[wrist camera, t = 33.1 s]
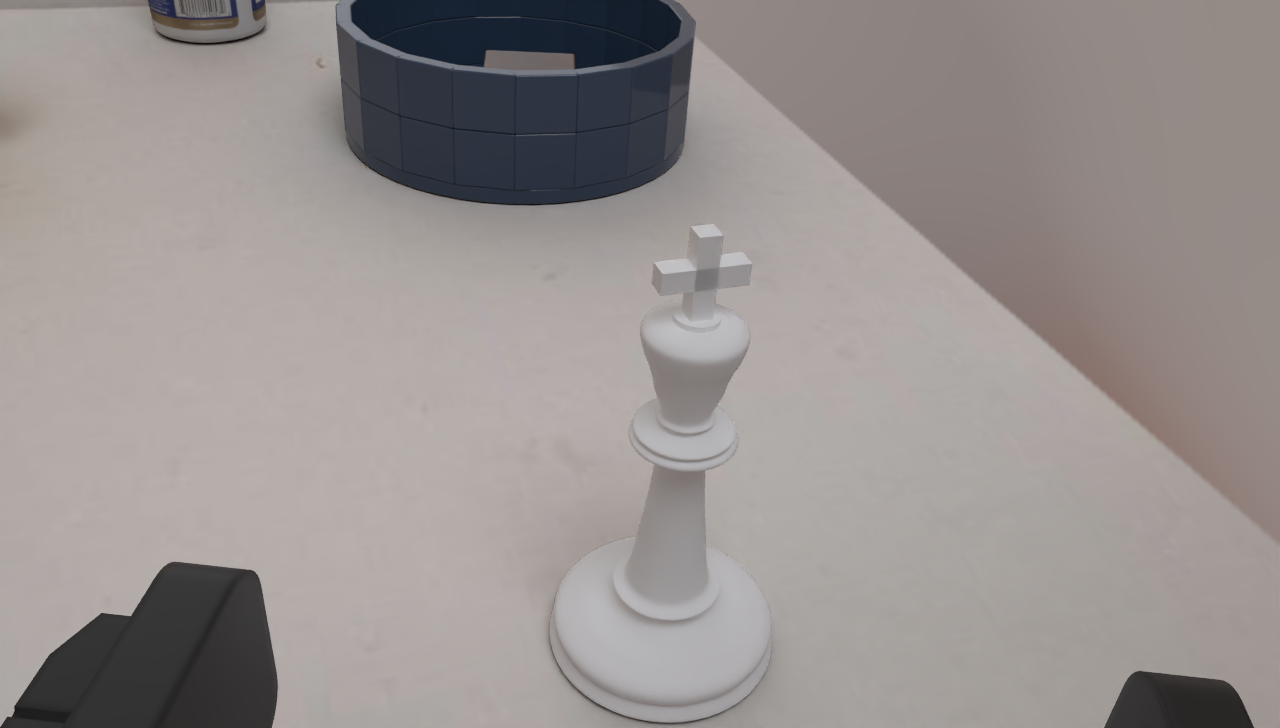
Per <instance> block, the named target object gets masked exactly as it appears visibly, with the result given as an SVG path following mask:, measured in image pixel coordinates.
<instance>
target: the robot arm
mask: <svg viewBox="0 0 1280 728" xmlns="http://www.w3.org/2000/svg"><path fill="white" fill-rule="evenodd" d="M277 691H278V682H277V672H276V667H275V661H274V656H273V650H272V644H271V639H270V633H269V627H268V622H267V616H266V611H265V605H264V599H263V594H262V588H261V584H260V580H259V577H258V575H257V574H256V573H255V572H254V571H252V570H246V569H236V568H227V567H218V566H209V565H200V564H191V563H182V562H171V563H169V564H167V565H166V566H164V567H163V568H162V569H161V570H160V572H159V573H158V574H157V576H156V577H155V579H154V580H153V582H152V583H151V585H150V587H149V588H148V590H147V591H146V593H145V595H144V596H143V598H142V599H141V601H140V603H139V604H138V606H137V608H136V609H135V611H134V612H133V614H132V616H123V615H114V614H105V613H101V614H100V615H99V616H97V617H96V618H95V619H94V620H92V621H91V622H90V623H89V624H87V625H86V626H85V627H84V628H82V629H81V630H80V631H79V632H77V633H76V634H75V635H74V636H72V637H71V638H70V639H69V640H67V641H66V642H65V643H64V644H62V645H61V646H60V647H59V648H57V649H56V650H55V651H54V652H52V653H51V654H50V655H49V656H48V658H47V659H46V661H45V662H44V664H43V665H42V666H41V668H40V669H39V671H38V672H37V674H36V675H35V677H34V678H33V680H32V681H31V683H30V684H29V686H28V687H27V689H26V690H25V692H24V693H23V695H22V696H21V698H20V699H19V700H18V702H17V703H16V705H15V706H14V707H15V711H14V714H13V716H12V717H7V718H6V720H5V721H4V723H3V724H2V726H1V727H0V728H272V724H273V720H274V715H275V710H276V703H277ZM1104 728H1254V727H1253V725H1252V722H1251V720H1250V718H1249V716H1248V713H1247V711H1246V709H1245V707H1244V704H1243V702H1242V700H1241V698H1240V697H1239V695H1238V693H1237V692H1236V690H1235V689H1234V688H1233V687H1232V686H1231V685H1230V684H1229V683H1227V682H1225V681H1222V680H1216V679H1207V678H1198V677H1189V676H1180V675H1170V674H1161V673H1152V672H1143V671H1138V672H1135V673H1133V674H1132V675H1131V676H1130V677H1129V678H1128V679H1127V681H1126V683H1125V684H1124V687H1123V689H1122V691H1121V693H1120V695H1119V697H1118V699H1117V701H1116V704H1115V706H1114V708H1113V710H1112V712H1111V714H1110V716H1109V719H1108V721H1107V723H1106V725H1105V727H1104Z"/></svg>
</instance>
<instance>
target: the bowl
mask: <svg viewBox="0 0 1280 728" xmlns="http://www.w3.org/2000/svg"><path fill="white" fill-rule="evenodd" d="M695 26H696V22H695V20H694V19H693V18H692V16H691V15H690V14H689V13H688V12H687V11H686V9H685V8H684V7H683V6H682V5H681V4H680V3H678V2H676V1H674V0H340V1H339V2H338V3H337V4H336V27H337V39H338V51H339V62H340V74H341V86H342V97H343V109H344V121H345V130H346V135H347V140H348V143H349V145H350V147H351V149H352V150H353V152H354V153H355V154H356V156H357V157H358V158H359V159H360V160H361V161H363V162H364V163H365V164H366V165H367V166H369V167H370V168H372V169H373V170H375V171H377V172H378V173H380V174H381V175H384V176H386V177H388V178H390V179H392V180H394V181H396V182H399V183H402V184H404V185H407V186H410V187H413V188H416V189H419V190H423V191H426V192H430V193H434V194H438V195H443V196H448V197H453V198H458V199H464V200H472V201H480V202H490V203H504V204H549V203H563V202H573V201H582V200H587V199H593V198H599V197H604V196H608V195H612V194H616V193H620V192H623V191H626V190H629V189H632V188H635V187H638V186H640V185H643V184H645V183H647V182H649V181H651V180H653V179H655V178H657V177H658V176H660V175H661V174H663V173H664V172H666V171H667V170H668V169H669V168H670V167H671V166H672V165H673V164H674V163H675V162H676V161H677V159H678V158H679V156H680V155H681V152H682V149H683V146H684V137H685V128H686V120H687V109H688V99H689V89H690V78H691V68H692V57H693V47H694V37H695ZM486 50H497V51H520V52H543V53H565V54H574V55H575V65H576V69H574V70H506V69H495V68H485V67H483V64H484V57H485V52H486Z"/></svg>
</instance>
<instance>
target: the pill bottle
mask: <svg viewBox="0 0 1280 728" xmlns="http://www.w3.org/2000/svg"><path fill="white" fill-rule="evenodd" d="M148 2H149V7H150V12H151V15H152V21H153V25H154V27H155V28H156V30H157V31H158V32H160V33H161V34H163V35H165V36H167V37H169V38H173V39H176V40H182V41H188V42H196V43H214V42H224V41H230V40H236V39H241V38H244V37H247V36H250V35H253V34H255V33H257V32H259V31H260V30H261V29H262V28H263V27H264V26H265V24H266V6H265V0H148Z"/></svg>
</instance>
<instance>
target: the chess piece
mask: <svg viewBox="0 0 1280 728" xmlns="http://www.w3.org/2000/svg"><path fill="white" fill-rule="evenodd" d="M723 236H724V235H723V234H722V233H721V232H720V231H719V230H718V228H717V227H716V226H715V225H714V224H708V225H698V226H691V227H690V237H689V246H688V256H687V258H685V259H676V260H667V261H658V262H654V266H653V278H652V284H653V286H654V287H655V289H656V290H657V292H658V293H659V294H660V296H665V295H673V294H681V293H683V299H682V300H675V301H670V302H667V303H664V304H661V305H659V306H657V307H655V308H654V309H652V310H651V311H650V312H648V314H647V315H646V316H645V317H644V319H643V320H642V323H641V327H640V336H641V342H642V346H643V350H644V353H645V356H646V359H647V361H648V363H649V366H650V370H651V373H652V377H653V384H654V388H655V391H656V394H657V397H658V398H657V399H654V400H651V401H649V402H647V403H646V404H644V405H643V406H642V407H640V408H639V409H638V410H637V412H636V413H635V415H634V418H633V420H632V422H631V424H630V426H629V440H630V442H631V445H632V446H633V448H634V449H635V451H636V452H637V453H638V454H639V455H640V456H642V457H643V458H644V459H646V460H647V461H649V462H651V463H653V464H654V468H653V473H652V477H651V483H650V487H649V491H648V495H647V499H646V503H645V507H644V511H643V515H642V518H641V522H640V526H639V530H638V534H637V536H634V537H629V538H624V539H620V540H616V541H613V542H610V543H608V544H605V545H603V546H601V547H599V548H597V549H595V550H593V551H592V552H590V553H588V554H587V555H585V556H584V557H583V558H582V559H580V560H579V561H578V562H577V563H576V564H575V565H574V566H573V567H572V568H571V569H570V570H569V572H568V573H567V574H566V576H565V577H564V579H563V580H562V582H561V584H560V586H559V589H558V591H557V594H556V598H555V602H554V608H553V611H552V614H551V619H550V642H551V646H552V650H553V653H554V656H555V658H556V660H557V663H558V665H559V666H560V668H561V670H562V671H563V673H564V674H565V676H566V677H567V678H568V679H569V680H570V682H571V683H572V684H573V685H574V686H575V687H576V688H577V689H578V690H579V691H581V692H582V693H583V694H584V695H586V696H587V697H588V698H590V699H591V700H593V701H594V702H596V703H598V704H599V705H601V706H603V707H605V708H607V709H609V710H611V711H613V712H616V713H618V714H621V715H624V716H627V717H631V718H635V719H639V720H644V721H651V722H662V723H675V722H687V721H693V720H698V719H703V718H706V717H710V716H712V715H715V714H718V713H720V712H722V711H725V710H727V709H729V708H731V707H732V706H734V705H735V704H737V703H738V702H740V701H741V700H742V699H744V698H745V697H746V696H747V695H748V694H749V693H750V692H751V691H752V690H753V689H754V688H755V687H756V686H757V685H758V683H759V682H760V680H761V679H762V677H763V675H764V673H765V672H766V669H767V667H768V664H769V661H770V657H771V651H772V636H771V630H772V621H771V613H770V609H769V605H768V602H767V600H766V597H765V595H764V593H763V591H762V589H761V588H760V586H759V585H758V583H757V582H756V581H755V579H754V578H753V577H752V576H751V575H750V573H749V572H748V571H747V570H746V569H745V568H744V567H742V566H741V565H740V564H739V563H738V562H736V561H735V560H734V559H732V558H731V557H729V556H728V555H726V554H724V553H723V552H721V551H719V550H717V549H715V548H713V547H711V546H708V545H706V535H705V470H709V469H713V468H715V467H718V466H720V465H722V464H724V463H725V462H727V461H728V460H729V459H730V458H731V457H732V456H733V455H734V453H735V452H736V450H737V447H738V434H737V431H736V425H735V423H734V421H733V419H732V418H731V416H730V415H729V414H728V413H727V412H726V411H725V410H724V409H722V408H721V407H719V406H718V405H717V404H718V403H719V401H720V399H721V398H722V396H723V394H724V392H725V390H726V387H727V385H728V383H729V381H730V379H731V377H732V376H733V374H734V372H735V371H736V370H737V369H738V367H739V366H740V364H741V362H742V360H743V358H744V356H745V354H746V352H747V350H748V347H749V344H750V332H749V329H748V327H747V325H746V323H745V322H744V321H743V319H742V318H741V317H739V316H738V315H737V314H736V313H735V312H733V311H732V310H730V309H728V308H726V307H724V306H722V305H719V304H716V303H715V300H716V292H717V289H721V288H729V287H737V286H745V285H749V283H750V276H751V269H752V263H751V262H750V260H749V259H748V258H747V257H746V256H745V255H744V253H743V252H738V253H729V254H721V252H722V244H723Z"/></svg>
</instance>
